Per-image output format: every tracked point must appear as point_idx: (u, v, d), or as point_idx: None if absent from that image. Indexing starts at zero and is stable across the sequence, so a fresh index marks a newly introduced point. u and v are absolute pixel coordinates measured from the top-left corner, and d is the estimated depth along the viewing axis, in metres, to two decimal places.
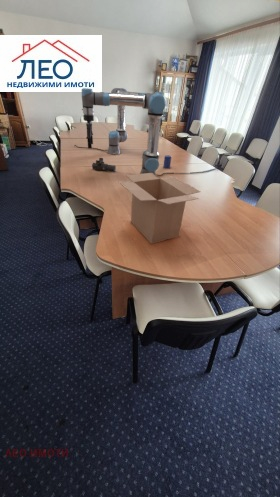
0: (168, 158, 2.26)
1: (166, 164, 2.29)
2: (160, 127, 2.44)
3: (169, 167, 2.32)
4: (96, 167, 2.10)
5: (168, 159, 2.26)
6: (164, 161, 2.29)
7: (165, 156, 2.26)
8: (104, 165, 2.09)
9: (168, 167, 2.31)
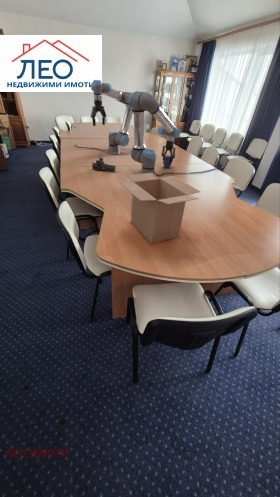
0: (168, 158, 2.26)
1: (166, 164, 2.29)
2: (104, 119, 2.25)
3: (169, 167, 2.32)
4: (96, 167, 2.10)
5: (168, 159, 2.26)
6: (164, 161, 2.29)
7: (165, 156, 2.26)
8: (104, 165, 2.09)
9: (168, 167, 2.31)
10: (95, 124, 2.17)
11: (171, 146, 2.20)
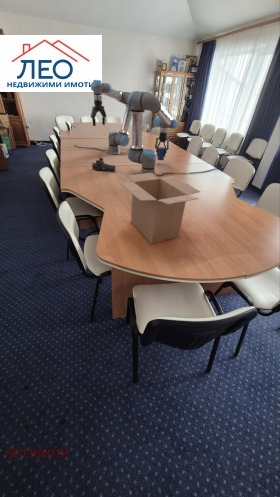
0: (162, 150, 2.29)
1: (160, 156, 2.32)
2: (104, 119, 2.25)
3: (163, 159, 2.36)
4: (96, 167, 2.10)
5: (162, 151, 2.30)
6: (158, 153, 2.32)
7: (159, 148, 2.29)
8: (104, 165, 2.09)
9: (162, 159, 2.35)
10: (95, 124, 2.17)
11: (165, 138, 2.23)
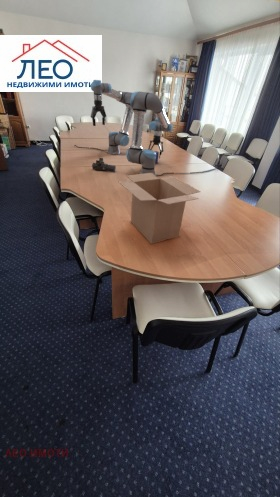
0: (156, 154, 2.37)
1: (155, 160, 2.40)
2: (104, 119, 2.25)
3: (157, 162, 2.44)
4: (96, 167, 2.10)
5: (156, 155, 2.38)
6: None
7: None
8: (104, 165, 2.09)
9: (157, 162, 2.43)
10: (95, 124, 2.17)
11: (159, 140, 2.31)
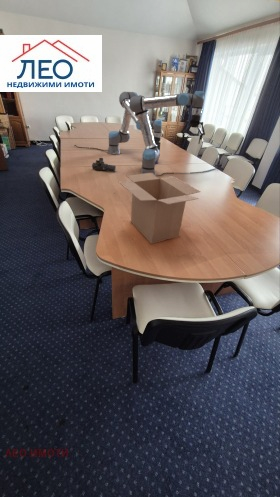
0: None
1: None
2: None
3: (157, 162, 2.44)
4: (96, 167, 2.10)
5: None
6: None
7: None
8: (104, 165, 2.09)
9: (157, 162, 2.43)
10: None
11: (197, 122, 1.81)
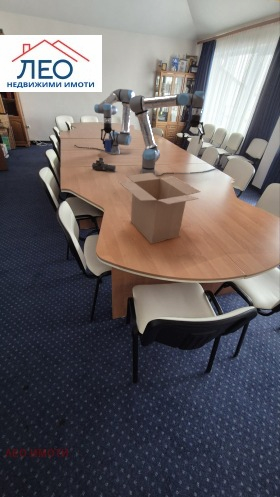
0: (106, 141, 2.21)
1: (105, 147, 2.25)
2: (111, 143, 2.24)
3: (108, 151, 2.26)
4: (96, 167, 2.10)
5: (106, 142, 2.22)
6: None
7: None
8: (104, 165, 2.09)
9: (107, 151, 2.26)
10: (104, 146, 2.25)
11: (197, 122, 1.81)
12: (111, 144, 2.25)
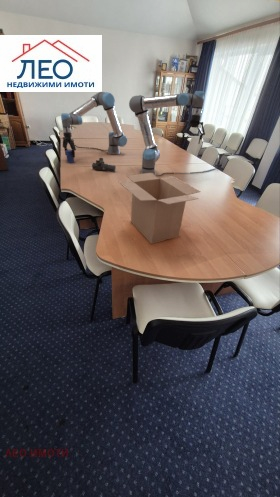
0: (66, 151, 2.22)
1: None
2: None
3: (68, 162, 2.26)
4: (96, 167, 2.10)
5: (66, 153, 2.23)
6: None
7: None
8: (104, 165, 2.09)
9: (67, 161, 2.26)
10: (65, 153, 2.26)
11: (197, 122, 1.81)
12: (71, 155, 2.23)
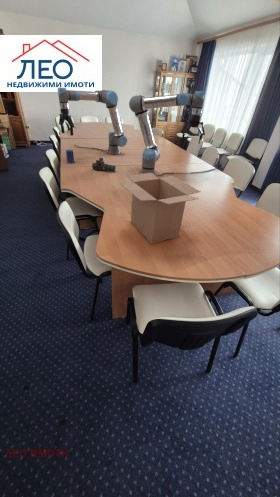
0: (66, 151, 2.22)
1: None
2: (70, 130, 2.07)
3: (68, 162, 2.26)
4: (96, 167, 2.10)
5: (66, 153, 2.23)
6: None
7: None
8: (104, 165, 2.09)
9: (67, 161, 2.26)
10: (62, 131, 2.15)
11: (197, 122, 1.81)
12: (71, 155, 2.23)
